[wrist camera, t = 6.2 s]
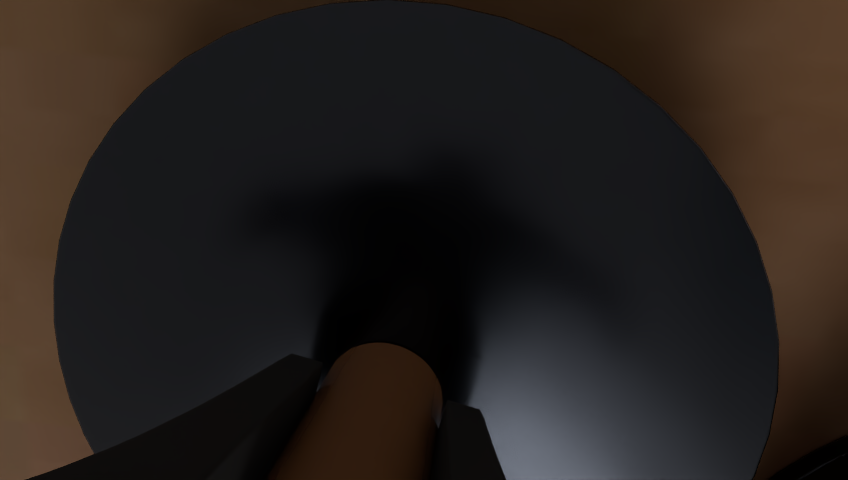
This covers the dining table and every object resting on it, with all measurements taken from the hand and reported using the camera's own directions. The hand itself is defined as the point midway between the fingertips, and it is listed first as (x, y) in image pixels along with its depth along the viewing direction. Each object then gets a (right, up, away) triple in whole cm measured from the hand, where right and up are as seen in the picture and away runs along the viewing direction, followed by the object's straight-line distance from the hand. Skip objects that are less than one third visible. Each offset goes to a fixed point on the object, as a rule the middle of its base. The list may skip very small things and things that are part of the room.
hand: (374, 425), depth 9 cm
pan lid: (0, 0, +1) cm, 1 cm away
